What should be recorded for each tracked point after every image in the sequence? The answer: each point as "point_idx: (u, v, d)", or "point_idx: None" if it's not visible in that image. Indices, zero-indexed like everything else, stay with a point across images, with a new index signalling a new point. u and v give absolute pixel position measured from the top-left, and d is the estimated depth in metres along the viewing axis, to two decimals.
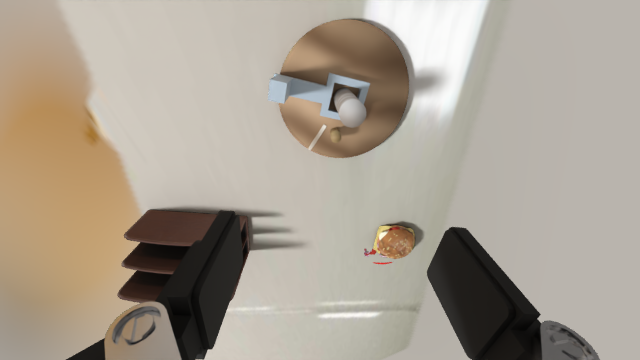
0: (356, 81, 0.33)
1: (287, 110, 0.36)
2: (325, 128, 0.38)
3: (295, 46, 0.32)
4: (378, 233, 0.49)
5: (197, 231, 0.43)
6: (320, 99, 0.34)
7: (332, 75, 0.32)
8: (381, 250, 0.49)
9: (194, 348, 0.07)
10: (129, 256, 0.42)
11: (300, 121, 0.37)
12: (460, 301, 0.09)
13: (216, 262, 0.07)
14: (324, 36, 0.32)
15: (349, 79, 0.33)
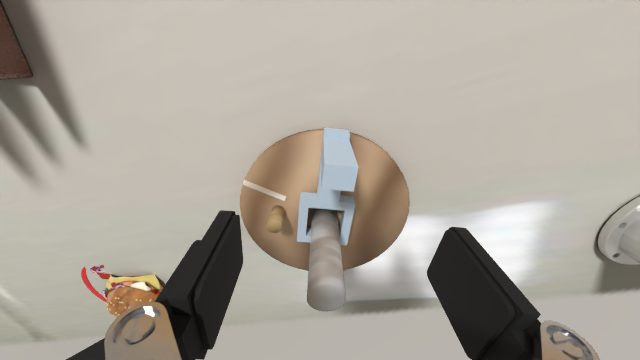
0: (347, 232, 0.27)
1: (297, 148, 0.24)
2: (281, 199, 0.26)
3: (382, 153, 0.24)
4: (140, 278, 0.34)
5: None
6: (321, 197, 0.24)
7: (353, 207, 0.25)
8: (113, 294, 0.32)
9: (194, 348, 0.07)
10: None
11: (283, 166, 0.25)
12: (460, 301, 0.09)
13: (216, 262, 0.07)
14: (393, 185, 0.26)
15: (349, 225, 0.26)
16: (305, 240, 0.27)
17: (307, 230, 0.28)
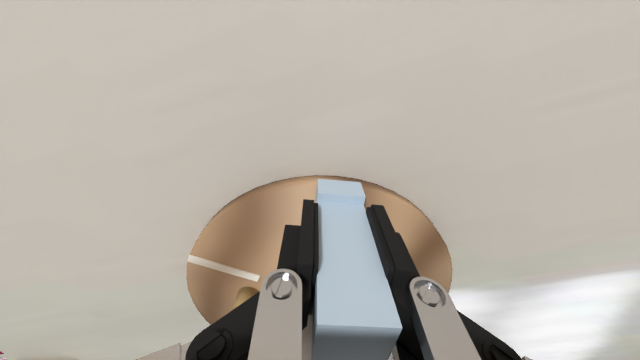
0: None
1: (273, 209, 0.14)
2: (252, 280, 0.17)
3: (416, 215, 0.14)
4: None
5: None
6: None
7: None
8: None
9: None
10: None
11: (252, 235, 0.15)
12: None
13: None
14: (429, 259, 0.16)
15: None
16: None
17: None
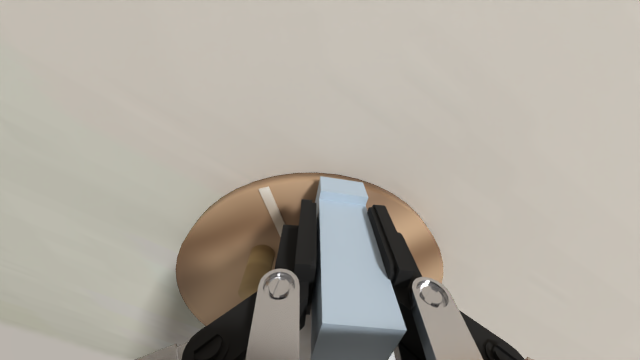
0: None
1: None
2: None
3: None
4: None
5: None
6: None
7: None
8: None
9: None
10: None
11: None
12: None
13: None
14: None
15: None
16: None
17: None
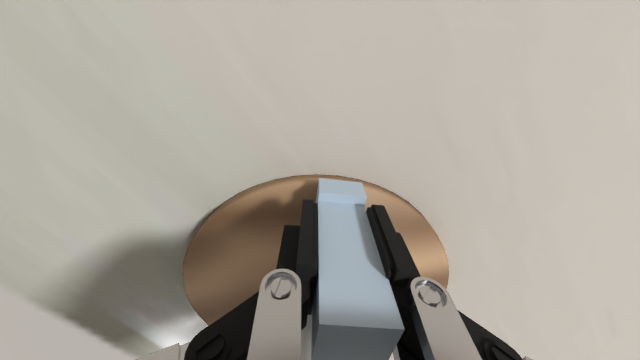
0: None
1: (419, 241, 0.15)
2: None
3: None
4: None
5: None
6: None
7: None
8: None
9: None
10: None
11: None
12: None
13: (317, 240, 0.09)
14: None
15: None
16: None
17: None
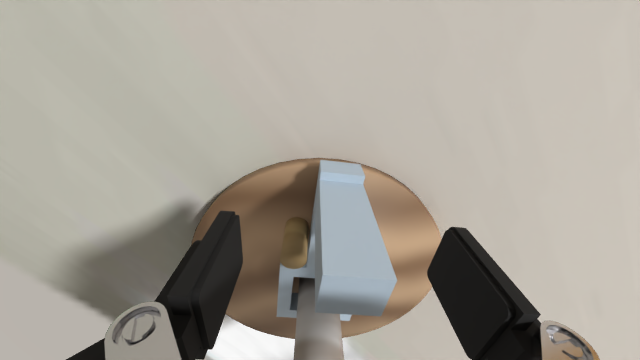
0: None
1: (414, 222, 0.16)
2: None
3: (422, 296, 0.20)
4: None
5: None
6: (314, 264, 0.16)
7: None
8: None
9: (194, 348, 0.07)
10: None
11: (381, 214, 0.16)
12: (460, 301, 0.09)
13: (216, 262, 0.07)
14: (384, 315, 0.22)
15: None
16: (289, 315, 0.18)
17: (292, 299, 0.19)
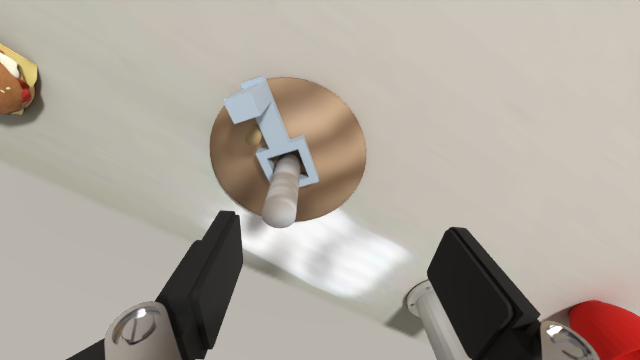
0: (312, 168, 0.28)
1: (319, 98, 0.26)
2: None
3: (364, 152, 0.30)
4: (14, 55, 0.23)
5: None
6: (272, 145, 0.27)
7: (303, 143, 0.27)
8: None
9: (194, 348, 0.07)
10: None
11: (297, 101, 0.26)
12: (460, 301, 0.09)
13: (216, 262, 0.07)
14: (350, 179, 0.31)
15: (310, 161, 0.28)
16: None
17: None
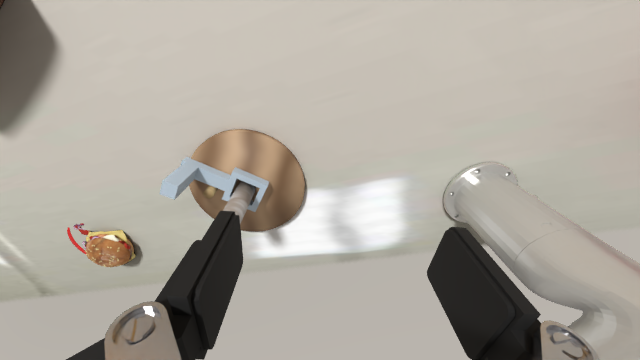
0: (255, 182, 0.38)
1: (221, 141, 0.36)
2: None
3: (277, 145, 0.37)
4: (111, 232, 0.45)
5: None
6: (223, 187, 0.38)
7: (235, 173, 0.37)
8: (90, 243, 0.44)
9: (194, 348, 0.07)
10: None
11: (214, 154, 0.37)
12: (460, 301, 0.09)
13: (216, 262, 0.07)
14: (289, 166, 0.38)
15: (249, 179, 0.37)
16: (255, 207, 0.40)
17: (253, 202, 0.41)
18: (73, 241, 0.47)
